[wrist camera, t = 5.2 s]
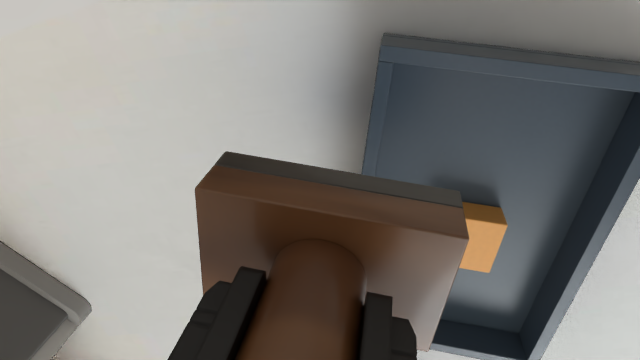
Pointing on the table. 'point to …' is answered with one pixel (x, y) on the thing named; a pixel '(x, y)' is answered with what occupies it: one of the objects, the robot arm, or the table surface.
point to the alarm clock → (34, 310)
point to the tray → (511, 171)
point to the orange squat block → (482, 236)
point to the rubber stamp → (327, 251)
